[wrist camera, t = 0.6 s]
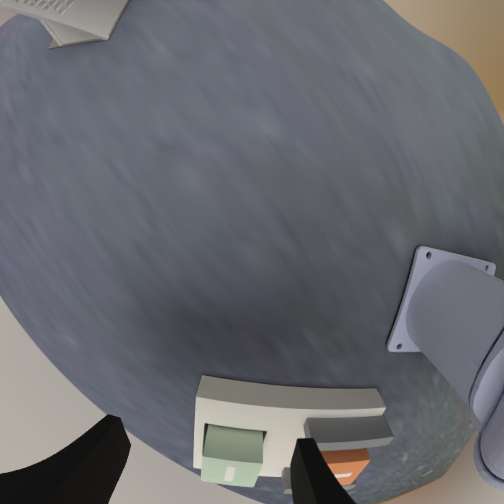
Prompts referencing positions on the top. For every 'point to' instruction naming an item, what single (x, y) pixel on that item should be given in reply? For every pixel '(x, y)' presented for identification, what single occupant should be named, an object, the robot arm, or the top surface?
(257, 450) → the on button
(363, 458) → the button
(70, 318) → the top surface
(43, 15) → the skyscraper
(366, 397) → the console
